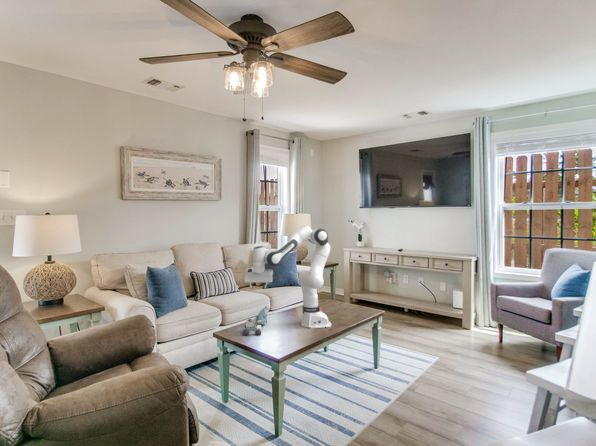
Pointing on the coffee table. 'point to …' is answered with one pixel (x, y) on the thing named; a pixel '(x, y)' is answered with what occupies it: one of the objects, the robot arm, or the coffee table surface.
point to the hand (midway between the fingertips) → (258, 288)
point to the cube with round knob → (250, 323)
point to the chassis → (252, 330)
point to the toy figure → (261, 317)
